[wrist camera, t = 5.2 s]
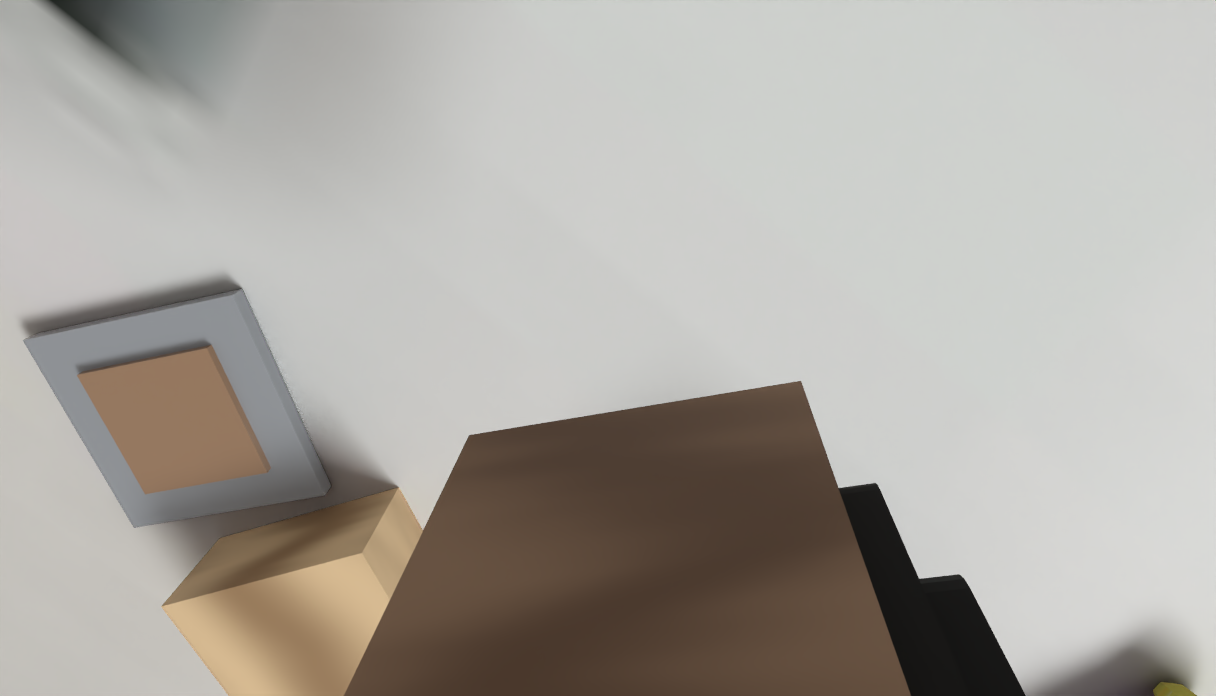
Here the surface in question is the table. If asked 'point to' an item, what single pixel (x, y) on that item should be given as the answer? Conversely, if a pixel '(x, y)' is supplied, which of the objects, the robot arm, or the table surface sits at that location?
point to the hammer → (1171, 690)
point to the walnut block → (639, 564)
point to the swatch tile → (182, 409)
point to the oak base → (296, 597)
